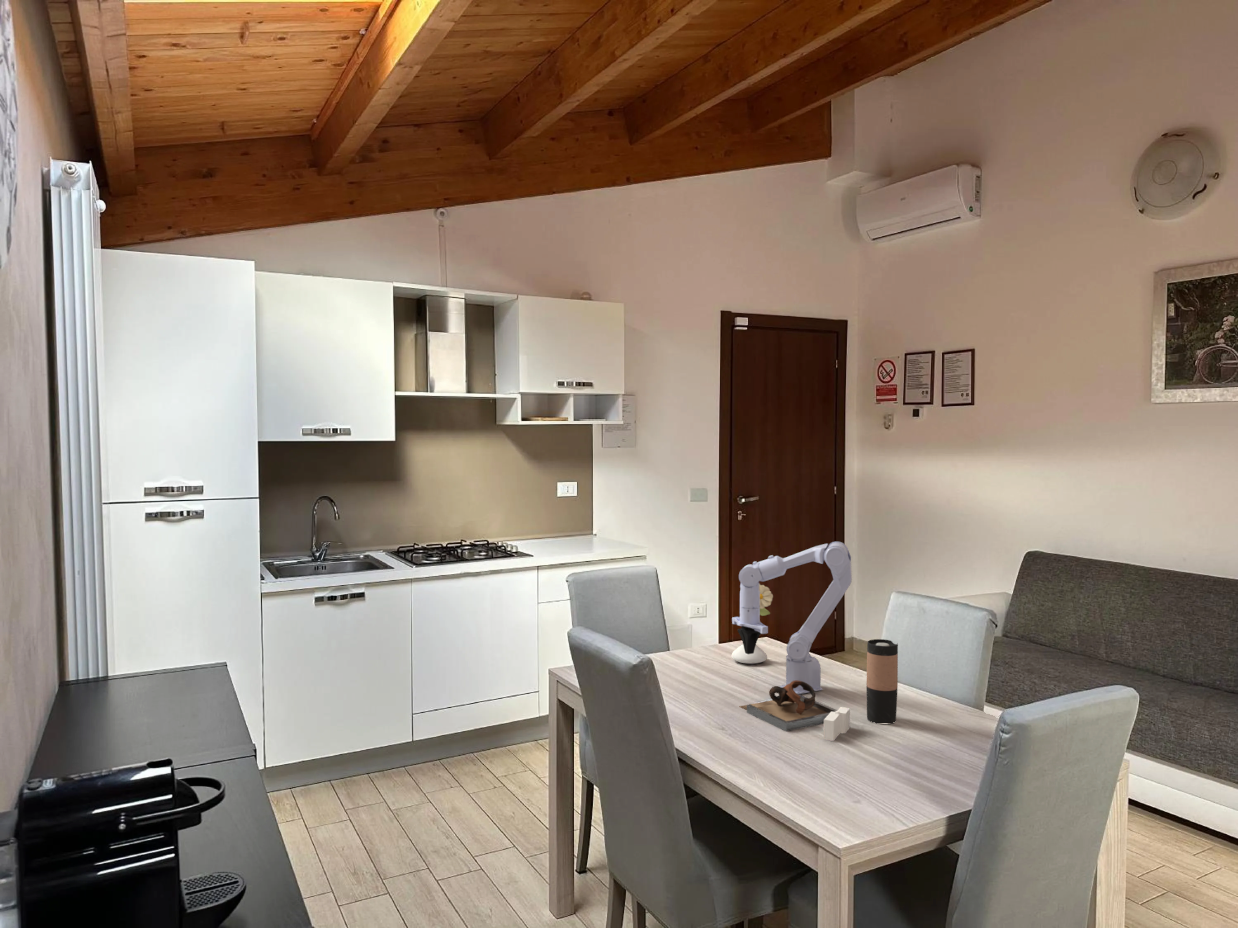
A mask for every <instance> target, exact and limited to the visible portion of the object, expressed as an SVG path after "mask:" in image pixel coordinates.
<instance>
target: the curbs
mask: <svg viewBox="0 0 1238 928" xmlns="http://www.w3.org/2000/svg"><path fill="white" fill-rule="evenodd" d="M798 695H799V696H800V701H803V702H804V698H808V697H807V696H804V695H803V694H798ZM750 704H751V703H749V704H746V705H747V710H746V713H747V714H749V715H751V716H753V717H756V718H758V719H760V720H762V721H764V722H766V723H768V724H770V725H773V726H774V727H776V728H778V729H781V730H783V731H785V732H791V731H795V730H799V729H805V728H809V727H814V726H819V725H824V719H825V718H826V717H827V716H828V715H829V713H830V712H831V711H832V712H835V711H837V710H838V709H835V708H833V707H831V706H829V705H825V704H823V703H821V702H819V701H816V700H815V703H814V705H813V707H816V708H818V709H820V710H823V711H825V712H827V713H825V714H820V715H815V716H810V717H805V718H800V719H795V720H790V721H785V720H783V719H780V718H778V717H776V716H774V715H772V714H770V713H768V712H765V711H763V710H761V709H759V708H757V707H755V706H752V705H750Z"/></svg>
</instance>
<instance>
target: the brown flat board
mask: <svg viewBox="0 0 1238 928" xmlns="http://www.w3.org/2000/svg"><path fill="white" fill-rule="evenodd" d="M749 704H750V705H752V706H755V707H757V708H759V709H761V710H763V711H765V712H768V713H770V714H772V715H774V716H776V717H778V718H780V719H783V720H785V721H790V720H795V719H800V718H805V717H810V716H815V715H820V714H825V713H827V712H825V711H823V710H820V709H818V708H816V707H813V706H812V707H811V708H809V709H808V710H804V712H802V714H799V713H797V712H796V709H797V707H798V704H797V703H796V702H794V703H792V702H787V701H786V702H783V703H781V706H778V705H777V703H776V702H775V701H773V700H772V699H771V700H766V701H760V702H754V703H749ZM747 705H748V704H744V705H739V706H738V707H739V708H741V709H743V710H744V711H747Z"/></svg>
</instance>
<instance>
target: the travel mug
mask: <svg viewBox="0 0 1238 928" xmlns="http://www.w3.org/2000/svg"><path fill="white" fill-rule="evenodd" d="M866 644H867V648H866V649H867V651H866V653H867V654H866V682H865V684H866V686H865V688H866V718H867V720H868V721H869V722H871V721H872V722H871V723H873V722H875V723H874V724H877V723H893V722H895V721H896V720H897V707H898V706H897V705H898V689H899V687H898V683H899V682H898V681H899V680H898V678H899V677H898V676H899V675H898V674H899V673H898V672H899V671H898V670H899V668H898V661H899V660H898V658H899V656H898V653H899V644H898V642H897V643H895V642H893V641H892V640H890V639H884V638H883V639H880V638H879V639H878V638H876V639H870V640H867V643H866ZM895 723H896V722H895ZM893 724H894V723H893Z"/></svg>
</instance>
